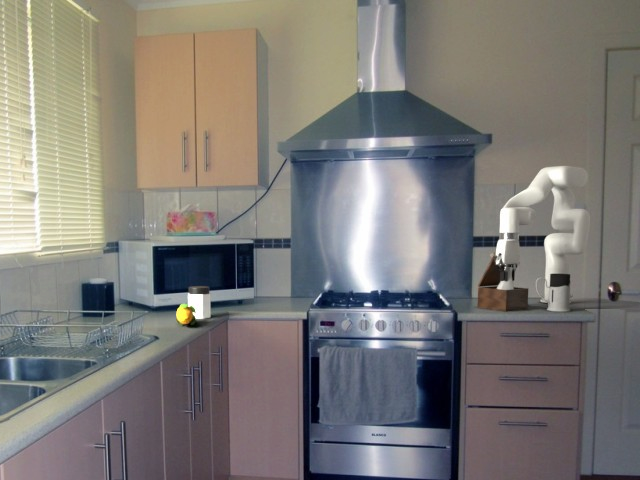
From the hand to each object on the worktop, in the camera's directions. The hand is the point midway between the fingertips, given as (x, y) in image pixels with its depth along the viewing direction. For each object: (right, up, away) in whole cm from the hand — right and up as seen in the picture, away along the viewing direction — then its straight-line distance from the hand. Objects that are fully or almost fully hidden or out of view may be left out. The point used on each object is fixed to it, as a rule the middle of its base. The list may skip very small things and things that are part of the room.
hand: (507, 280), depth 277 cm
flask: (-1, -4, 0) cm, 5 cm away
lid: (-2, +4, +4) cm, 6 cm away
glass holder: (+17, -13, -4) cm, 22 cm away
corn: (-132, -18, -39) cm, 139 cm away
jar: (-129, -15, -19) cm, 131 cm away
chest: (-1, -12, +3) cm, 12 cm away
